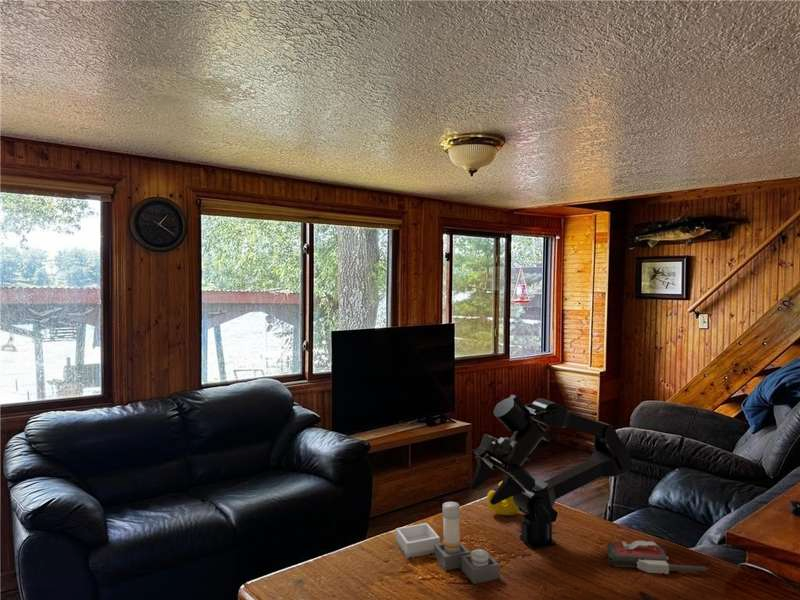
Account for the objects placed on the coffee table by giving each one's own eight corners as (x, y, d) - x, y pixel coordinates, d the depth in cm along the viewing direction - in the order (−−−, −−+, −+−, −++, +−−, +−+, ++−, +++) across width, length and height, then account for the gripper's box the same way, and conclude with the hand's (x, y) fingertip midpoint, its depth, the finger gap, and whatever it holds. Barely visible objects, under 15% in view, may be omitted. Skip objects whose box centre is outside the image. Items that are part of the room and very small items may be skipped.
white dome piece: (483, 567, 122) (483, 548, 122) (492, 576, 119) (491, 556, 119) (468, 571, 121) (468, 551, 121) (476, 580, 118) (475, 559, 117)
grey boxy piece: (486, 564, 124) (485, 551, 124) (499, 578, 118) (499, 564, 118) (461, 569, 122) (461, 556, 122) (473, 583, 116) (473, 570, 116)
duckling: (527, 509, 152) (527, 473, 151) (531, 518, 146) (531, 481, 146) (486, 510, 152) (485, 474, 152) (488, 518, 147) (488, 481, 146)
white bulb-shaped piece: (456, 555, 128) (455, 500, 127) (463, 563, 124) (462, 507, 124) (441, 558, 127) (439, 503, 126) (447, 567, 123) (446, 509, 123)
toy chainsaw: (609, 573, 120) (708, 578, 117) (609, 553, 120) (708, 557, 117) (601, 552, 128) (693, 557, 125) (601, 534, 128) (693, 538, 125)
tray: (427, 536, 138) (426, 522, 138) (440, 551, 130) (439, 537, 130) (396, 542, 135) (395, 528, 135) (407, 558, 127) (406, 543, 127)
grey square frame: (458, 552, 129) (458, 539, 129) (470, 565, 124) (470, 552, 124) (434, 557, 127) (434, 544, 127) (445, 570, 122) (444, 557, 122)
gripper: (481, 413, 138) (441, 462, 134) (524, 432, 120) (479, 489, 117) (508, 440, 141) (470, 489, 137) (553, 463, 123) (511, 520, 120)
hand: (481, 496), depth 128 cm, fingers open, 9 cm apart
